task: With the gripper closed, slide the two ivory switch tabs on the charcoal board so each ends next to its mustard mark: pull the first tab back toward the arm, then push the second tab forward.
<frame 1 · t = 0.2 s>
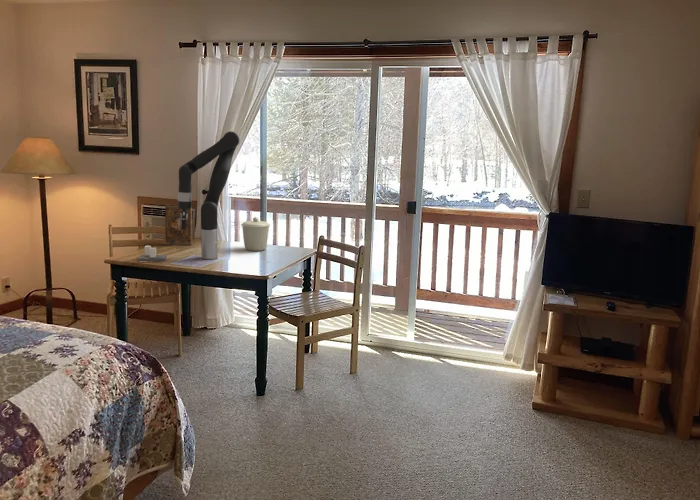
hand: (183, 228, 322), 18 cm above the table, tool pointing down, fingers open, 8 cm apart
tab two: (153, 252, 314), point 5 cm above the table, slide at 2.5 cm
book: (179, 245, 363), on the table
switch board: (153, 259, 317), on the table
canister: (255, 250, 358), on the table
tab one: (147, 250, 318), point 5 cm above the table, slide at 6.0 cm
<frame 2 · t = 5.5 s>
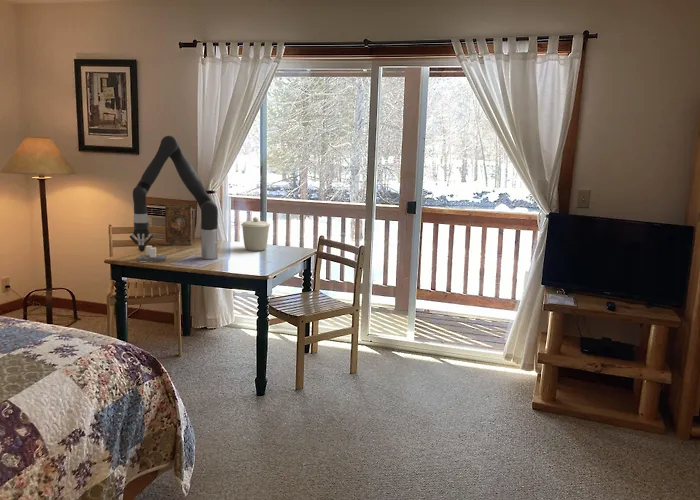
hand: (141, 251, 318), 4 cm above the table, tool pointing down, fingers closed
tab one: (149, 250, 318), point 5 cm above the table, slide at 5.3 cm, touching gripper
everything else where it was.
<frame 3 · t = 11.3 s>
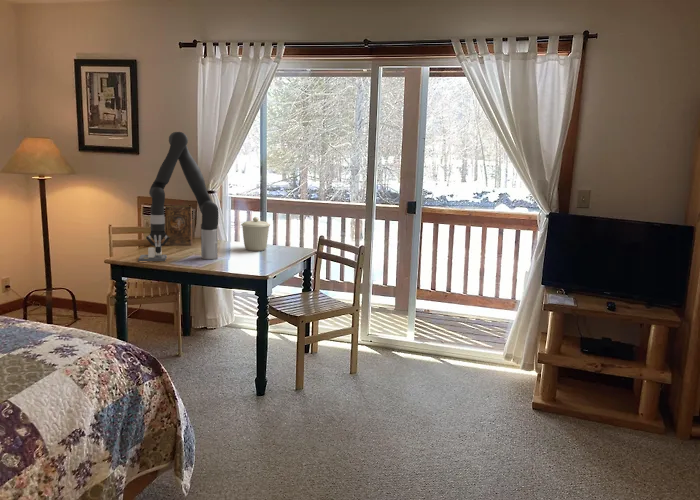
hand: (158, 253, 314), 5 cm above the table, tool pointing down, fingers closed
tab two: (151, 252, 313), point 5 cm above the table, slide at 3.4 cm, touching gripper
tab one: (158, 250, 319), point 5 cm above the table, slide at 0.3 cm
everything else where it was.
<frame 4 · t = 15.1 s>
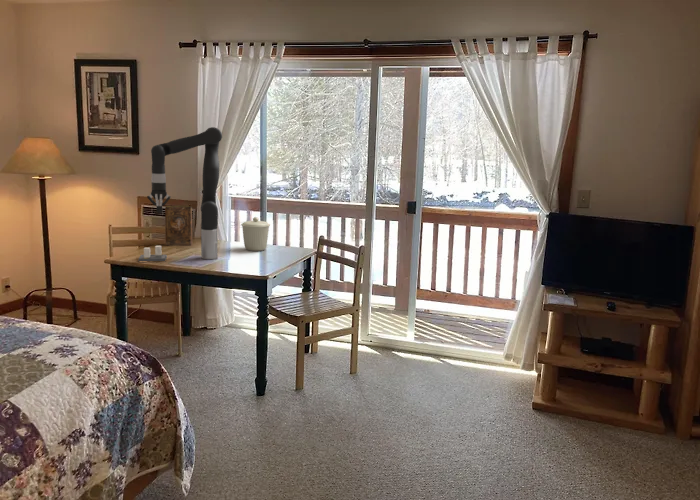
hand: (159, 212, 314), 27 cm above the table, tool pointing down, fingers closed
tab two: (147, 252, 313), point 5 cm above the table, slide at 5.7 cm
everything else where it was.
at the end: tab one slide at 0.3 cm; tab two slide at 5.7 cm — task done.
